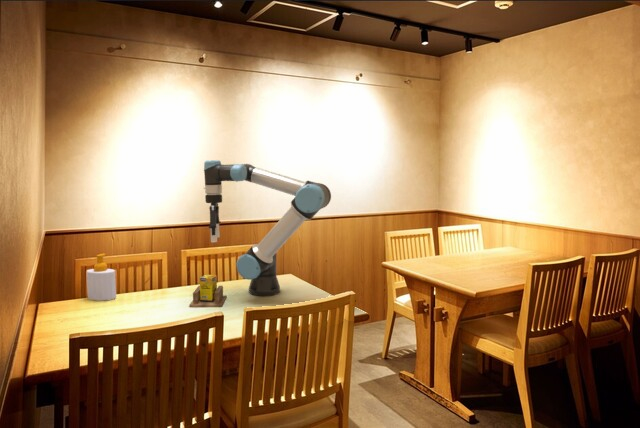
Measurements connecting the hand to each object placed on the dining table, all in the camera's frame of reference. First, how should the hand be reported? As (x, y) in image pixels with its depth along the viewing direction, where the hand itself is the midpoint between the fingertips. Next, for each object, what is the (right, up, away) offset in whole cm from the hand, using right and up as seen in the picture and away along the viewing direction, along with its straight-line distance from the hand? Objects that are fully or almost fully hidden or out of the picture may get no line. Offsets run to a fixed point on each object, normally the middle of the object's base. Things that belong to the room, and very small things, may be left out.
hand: (215, 239), depth 218 cm
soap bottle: (-52, -27, -2) cm, 59 cm away
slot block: (-2, -28, -6) cm, 29 cm away
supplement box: (-2, -27, -6) cm, 28 cm away
